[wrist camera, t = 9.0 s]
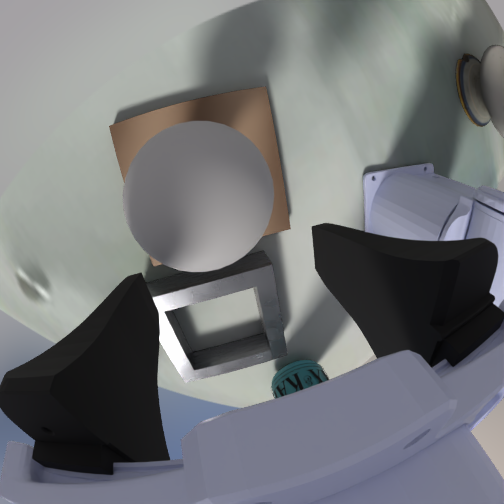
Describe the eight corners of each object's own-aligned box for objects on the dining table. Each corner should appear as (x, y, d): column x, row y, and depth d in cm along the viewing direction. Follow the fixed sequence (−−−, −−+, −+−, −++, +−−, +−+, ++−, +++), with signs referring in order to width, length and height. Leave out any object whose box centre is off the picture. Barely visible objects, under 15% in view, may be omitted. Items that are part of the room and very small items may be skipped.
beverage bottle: (321, 370, 32) (391, 499, 14) (273, 391, 32) (327, 528, 14) (312, 340, 29) (400, 495, 11) (257, 364, 29) (318, 531, 11)
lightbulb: (140, 142, 16) (77, 157, 6) (227, 116, 17) (277, 96, 7) (165, 223, 19) (147, 321, 9) (247, 199, 20) (308, 273, 10)
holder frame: (263, 250, 23) (272, 264, 21) (279, 338, 28) (287, 354, 25) (143, 284, 22) (139, 301, 19) (183, 364, 26) (184, 382, 24)
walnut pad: (262, 88, 17) (265, 86, 16) (286, 224, 22) (290, 228, 21) (112, 126, 16) (109, 126, 15) (154, 260, 21) (153, 266, 20)
